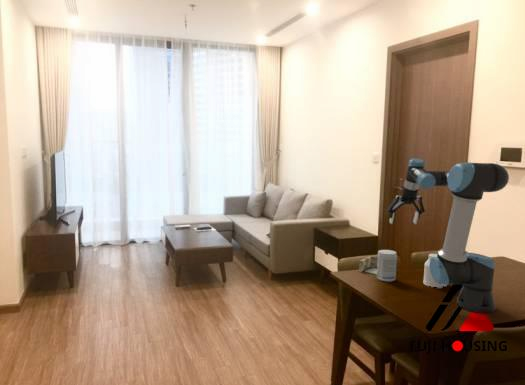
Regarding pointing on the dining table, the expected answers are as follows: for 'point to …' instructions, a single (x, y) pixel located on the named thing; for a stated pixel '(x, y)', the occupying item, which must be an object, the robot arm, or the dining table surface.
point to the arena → (368, 263)
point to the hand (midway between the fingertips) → (402, 222)
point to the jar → (427, 274)
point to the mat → (372, 270)
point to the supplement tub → (386, 265)
